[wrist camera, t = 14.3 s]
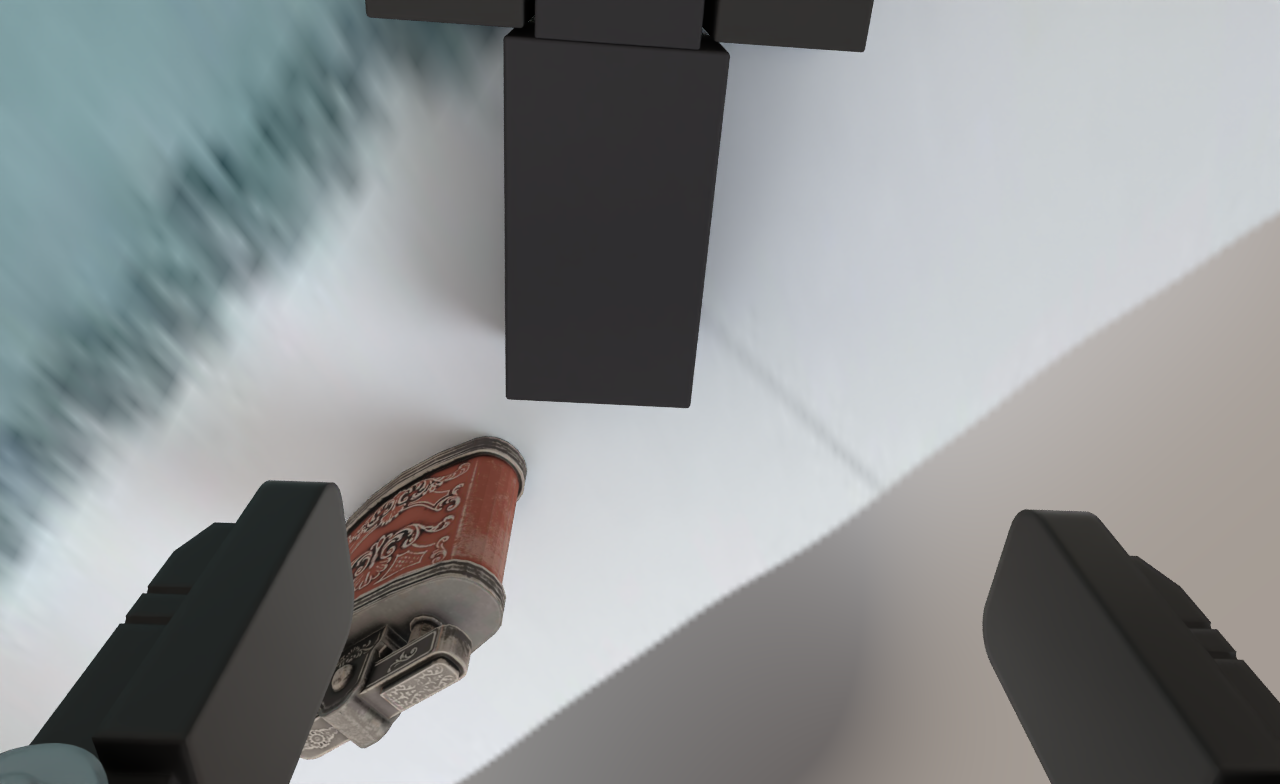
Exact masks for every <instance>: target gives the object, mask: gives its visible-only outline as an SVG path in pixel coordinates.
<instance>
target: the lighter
mask: <svg viewBox="0 0 1280 784" xmlns="http://www.w3.org/2000/svg"><path fill="white" fill-rule="evenodd" d="M526 472H527V468H526V464H525V460H524V459H523V457H522V456H521V454H520V453H519V451H518V450H517V449H516V448H514V447H513V446H512V445H511V444H510V443H508V442H506V441H503V440H501V439H499V438H494V437H486V436H485V437H480V438H475V439H473V440H470V441H468V442H465V443H463V444H460V445H458V446H455V447H453V448H450V449H448V450H445V451H443V452H440V453H438V454H436V455H434V456H432V457H430V458H429V459H427V460H425V461H423V462H421V463H419V464H418V465H416V466H414V467H412V468H410V469H408V470H407V471H405V472H403V473H402V474H400V475H399V476H398V477H396V478H395V479H394V480H392V481H391V482H390V483H388V484H387V485H386V486H384V487H383V488H382V489H380V490H379V491H378V492H376V493H375V494H374V495H372V496H371V497H370V498H369V499H368V500H367V501H366V502H365V503H364V504H363V505H362V506H361V507H360V508H359V509H358V510H357V511H356V512H355V513H354V514H353V515H352V516H351V517H350V518H349V519H348V521H347V522H346V531H347V538H348V545H349V552H350V559H351V567H352V574H353V581H354V610H353V617H352V623H351V628H350V631H349V635H348V638H347V641H346V643H345V646H344V648H343V651H342V653H341V656H340V658H339V661H338V663H337V666H336V668H335V671H334V673H333V676H332V678H331V681H330V683H329V686H328V688H327V691H326V693H325V696H324V698H323V701H322V703H321V706H320V708H319V711H318V713H317V715H316V718H315V720H314V723H313V725H312V728H311V730H310V733H309V735H308V738H307V740H306V743H305V745H304V748H303V750H302V753H301V755H300V758H303V759H307V760H309V759H316V758H318V757H321V756H322V755H324V754H326V753H328V752H330V751H332V750H333V749H335V748H337V747H339V746H341V745H342V744H344V743H346V742H348V741H350V740H351V741H352V742H354V743H355V744H356V745H357V746H359V747H360V748H367V747H369V746H370V745H372V744H374V743H376V742H378V741H379V740H380V739H381V738H382V737H383V736H384V735H385V734H386V733H387V731H388V730H389V728H390V727H391V725H392V723H393V722H394V721H395V720H396V719H397V718H398V717H399V715H400V714H401V712H403V711H404V710H406V709H408V708H410V707H412V706H414V705H415V704H417V703H419V702H421V701H423V700H424V699H426V698H428V697H430V696H432V695H434V694H435V693H437V692H439V691H441V690H443V689H445V688H446V687H448V686H450V685H452V684H454V683H455V682H457V681H459V680H460V679H462V678H463V677H465V675H466V673H467V669H468V664H469V660H470V655H471V653H473V652H474V651H475V650H476V649H477V648H479V647H480V646H481V645H482V644H483V643H485V642H486V641H487V640H488V639H489V638H490V637H492V636H493V635H494V634H495V633H496V632H497V630H498V629H499V628H500V626H501V624H502V618H503V612H504V606H505V599H506V595H505V592H504V588H503V585H502V581H503V575H504V569H505V564H506V558H507V552H508V546H509V541H510V535H511V529H512V523H513V518H514V512H515V506H516V502H517V501H518V500H519V498H520V497H521V495H522V494H523V491H524V485H525V479H526Z"/></svg>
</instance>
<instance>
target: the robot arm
mask: <svg viewBox="0 0 1280 784" xmlns="http://www.w3.org/2000/svg"><path fill="white" fill-rule="evenodd" d="M353 610H354V581H353V574H352V567H351V559H350V552H349V545H348V538H347V531H346V524H345V517H344V509H343V502H342V497H341V493H340V490H339V488H338V486H337V485H336V484H335V483H328V482H300V481H272V480H268V481H266V482H264V483H263V484H262V485H261V487H260V488H259V489H258V491H257V492H256V494H255V495H254V497H253V498H252V500H251V501H250V502H249V504H248V505H247V507H246V508H245V510H244V511H243V513H242V514H241V516H240V517H239V519H238V520H237V522H236V523H213V524H212V525H210V526H209V527H208V528H206V529H205V530H203V531H202V532H200V533H199V534H198V535H196V536H195V537H193V538H192V539H191V540H189V541H188V542H186V543H185V544H184V545H182V546H181V547H179V548H178V549H176V550H175V551H174V552H173V553H172V554H171V556H170V557H169V558H168V560H167V561H166V563H165V564H164V565H163V567H162V568H161V569H160V571H159V572H158V573H157V575H156V576H155V577H154V579H153V580H152V581H151V583H150V584H149V585H148V591H147V594H145V593H142V595H141V596H140V597H139V599H138V600H137V601H136V603H135V604H134V606H133V607H132V608H131V610H130V611H129V612H128V614H127V615H126V621H125V623H124V624H119V626H118V627H117V628H116V630H115V631H114V632H113V634H112V635H111V636H110V638H109V639H108V640H107V642H106V643H105V644H104V646H103V647H102V648H101V650H100V651H99V653H98V654H97V655H96V657H95V658H94V659H93V661H92V662H91V663H90V665H89V666H88V667H87V669H86V670H85V671H84V673H83V674H82V675H81V677H80V678H79V679H78V681H77V682H76V683H75V685H74V686H73V687H72V689H71V690H70V691H69V693H68V694H67V696H66V697H65V698H64V700H63V701H62V702H61V704H60V705H59V706H58V708H57V709H56V710H55V712H54V713H53V714H52V716H51V717H50V718H49V720H48V721H47V722H46V724H45V725H44V726H43V728H42V729H41V730H40V732H39V733H38V734H37V736H36V737H35V738H34V740H33V741H32V742H31V743H30V745H29V746H24V747H20V748H16V749H12V750H9V751H6V752H3V753H1V754H0V784H289V783H290V780H291V778H292V775H293V773H294V770H295V768H296V765H297V763H298V760H299V758H300V755H301V753H302V750H303V748H304V745H305V743H306V740H307V738H308V735H309V733H310V730H311V728H312V725H313V723H314V720H315V718H316V715H317V713H318V711H319V708H320V706H321V703H322V701H323V698H324V696H325V693H326V691H327V688H328V686H329V683H330V681H331V678H332V676H333V673H334V671H335V668H336V666H337V663H338V661H339V658H340V656H341V653H342V651H343V648H344V646H345V643H346V641H347V638H348V635H349V631H350V628H351V623H352V617H353ZM1210 624H1211V622H1210V621H1209V619H1208V618H1207V617H1206V616H1205V615H1204V614H1203V612H1202V611H1201V610H1200V609H1199V608H1198V607H1197V605H1195V603H1194V602H1193V601H1192V600H1191V599H1190V597H1189V596H1188V595H1187V594H1186V593H1185V591H1184V590H1183V589H1182V588H1181V587H1180V586H1179V585H1177V584H1176V583H1174V582H1173V581H1172V580H1170V579H1169V578H1167V577H1166V576H1165V575H1163V574H1162V573H1160V572H1159V571H1158V570H1156V569H1155V568H1153V567H1152V566H1151V565H1149V564H1148V563H1146V562H1145V561H1144V560H1142V559H1141V558H1139V557H1138V556H1129V555H1128V554H1127V552H1126V551H1125V550H1124V549H1123V547H1122V546H1121V545H1120V544H1119V542H1118V541H1117V540H1116V539H1115V538H1114V536H1113V535H1112V534H1111V533H1110V531H1109V530H1108V529H1107V528H1106V527H1105V525H1104V524H1103V523H1102V522H1101V520H1100V519H1099V518H1098V517H1097V516H1095V515H1094V514H1092V513H1090V512H1081V511H1080V512H1079V511H1053V510H1022V511H1021V512H1019V513H1018V514H1017V515H1016V516H1015V518H1014V520H1013V521H1012V525H1011V527H1010V530H1009V533H1008V536H1007V539H1006V542H1005V545H1004V548H1003V551H1002V555H1001V557H1000V561H999V564H998V567H997V570H996V573H995V576H994V579H993V582H992V585H991V588H990V591H989V595H988V598H987V601H986V604H985V608H984V613H983V638H984V644H985V648H986V652H987V655H988V658H989V660H990V663H991V665H992V666H993V669H994V671H995V673H996V675H997V677H998V679H999V681H1000V683H1001V684H1002V686H1003V688H1004V691H1005V693H1006V694H1007V696H1008V698H1009V701H1010V702H1011V704H1012V706H1013V708H1014V710H1015V712H1016V714H1017V716H1018V718H1019V720H1020V722H1021V724H1022V726H1023V728H1024V730H1025V732H1026V734H1027V736H1028V738H1029V740H1030V742H1031V744H1032V746H1033V748H1034V750H1035V752H1036V754H1037V756H1038V758H1039V760H1040V762H1041V764H1042V766H1043V768H1044V770H1045V772H1046V774H1047V776H1048V778H1049V780H1050V782H1051V784H1280V703H1279V701H1278V700H1277V699H1276V698H1275V697H1274V696H1273V695H1272V693H1271V692H1270V691H1269V690H1268V688H1267V687H1266V686H1265V685H1264V684H1263V683H1262V681H1260V679H1259V678H1258V677H1257V676H1256V674H1255V673H1254V672H1253V671H1252V670H1251V669H1250V667H1249V666H1248V665H1247V664H1246V663H1245V662H1244V661H1243V660H1238V659H1237V658H1236V651H1235V650H1234V649H1233V648H1232V646H1231V645H1230V644H1229V643H1228V642H1227V641H1226V639H1225V638H1224V637H1223V636H1222V635H1221V634H1220V632H1219V631H1218V630H1217V629H1211V626H1210Z"/></svg>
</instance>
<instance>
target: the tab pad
mask: <svg viewBox="0 0 1280 784" xmlns="http://www.w3.org/2000/svg"><path fill="white" fill-rule="evenodd" d="M704 2H705V0H535V22H527V23H526V24H525V25H524V26H523V27H521V28H514V29H513V30H512V31H511V32H510V33H508V34H507V35H506V36H505V37H504V40H503V43H504V198H505V354H506V398H507V399H513V400H533V401H553V402H573V403H594V404H614V405H634V406H655V407H675V408H689V406H690V403H691V394H692V385H693V376H694V367H695V359H696V350H697V341H698V332H699V323H700V315H701V306H702V297H703V288H704V279H705V270H706V262H707V253H708V244H709V235H710V226H711V218H712V209H713V200H714V191H715V182H716V173H717V165H718V156H719V147H720V138H721V129H722V121H723V112H724V103H725V94H726V85H727V76H728V68H729V59H730V55H729V53H728V52H727V51H726V50H725V49H724V48H723V46H722V45H721V44H720V43H719V42H716V41H715V40H714V39H713V38H712V37H711V36H710V35H701V33H702V23H703V12H704Z"/></svg>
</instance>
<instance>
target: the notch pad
mask: <svg viewBox="0 0 1280 784" xmlns="http://www.w3.org/2000/svg"><path fill="white" fill-rule="evenodd" d="M873 2H874V0H705V2H704V12H703V23H702V28H703V29H704V30H705V31H706V32H707V33H708V34H709V35H710V36H711V37H712V38H713V39H714V40H715V41H716V42H724V43H738V44H752V45H766V46H781V47H795V48H809V49H823V50H837V51H851V52H864V50H865V46H866V40H867V35H868V29H869V24H870V18H871V13H872V7H873ZM365 4H366V14H367V16H368V17H371V18H385V19H399V20H413V21H427V22H442V23H456V24H470V25H484V26H498V27H512V28H521V27H523V26H524V25H525V24H526V23H527V22H528V21H529V20H530V19H531V18H532V17H533V16H534V15H535V0H365Z"/></svg>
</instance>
